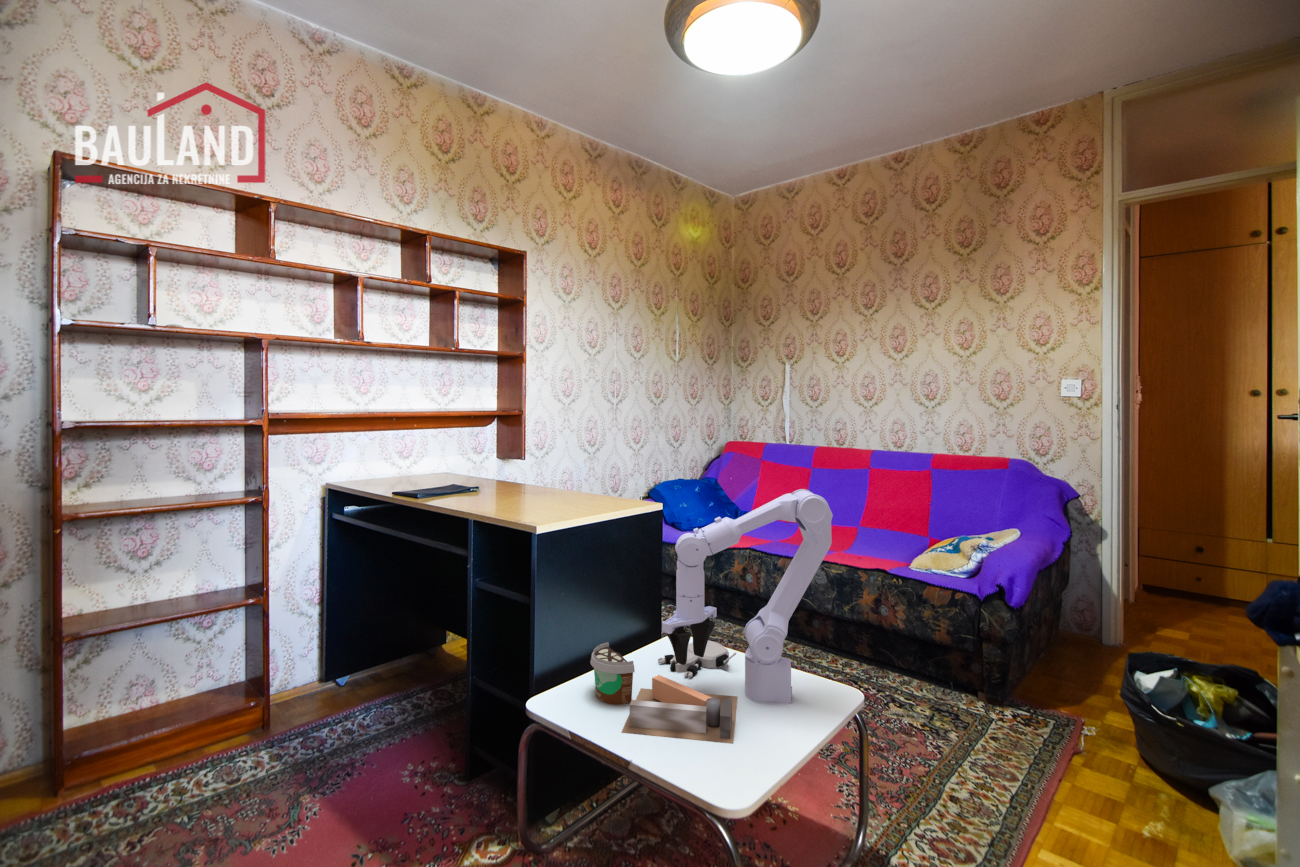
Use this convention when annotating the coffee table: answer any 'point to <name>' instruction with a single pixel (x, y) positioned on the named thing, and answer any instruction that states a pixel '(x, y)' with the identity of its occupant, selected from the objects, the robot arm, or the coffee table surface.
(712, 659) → the robot toy
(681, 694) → the tong arm
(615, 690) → the food container
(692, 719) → the tong board
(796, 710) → the coffee table surface
